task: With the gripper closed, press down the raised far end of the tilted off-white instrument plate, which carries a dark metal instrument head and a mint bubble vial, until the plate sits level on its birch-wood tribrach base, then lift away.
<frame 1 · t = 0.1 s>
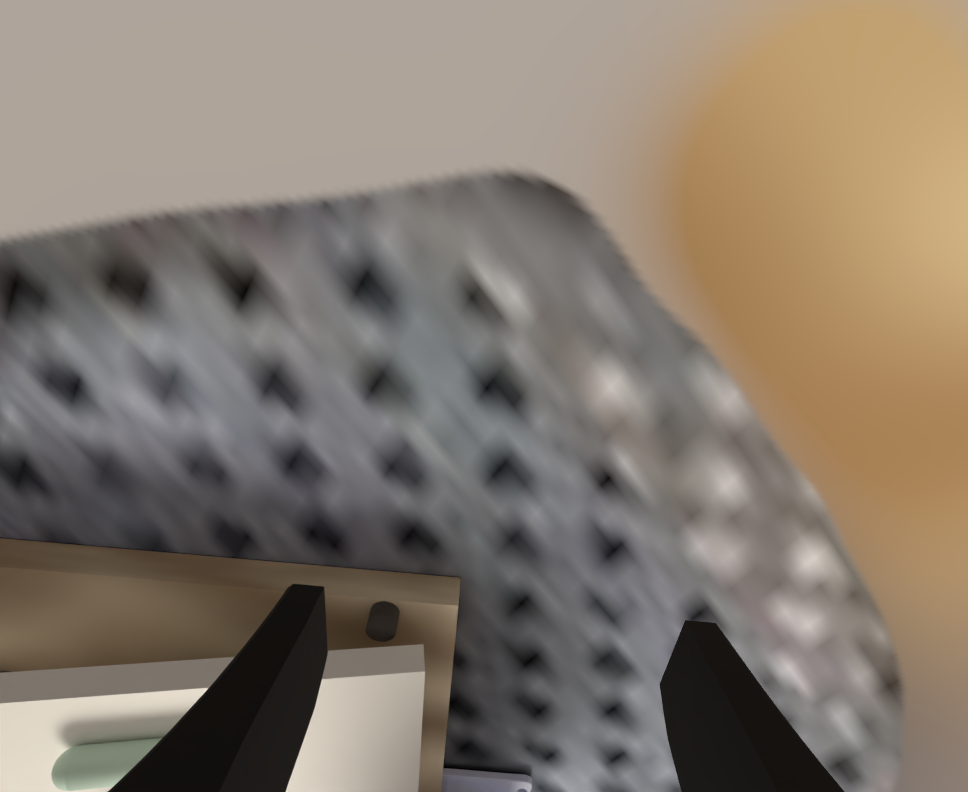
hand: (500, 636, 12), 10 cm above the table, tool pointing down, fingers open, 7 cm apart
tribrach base: (227, 666, 29), on the table
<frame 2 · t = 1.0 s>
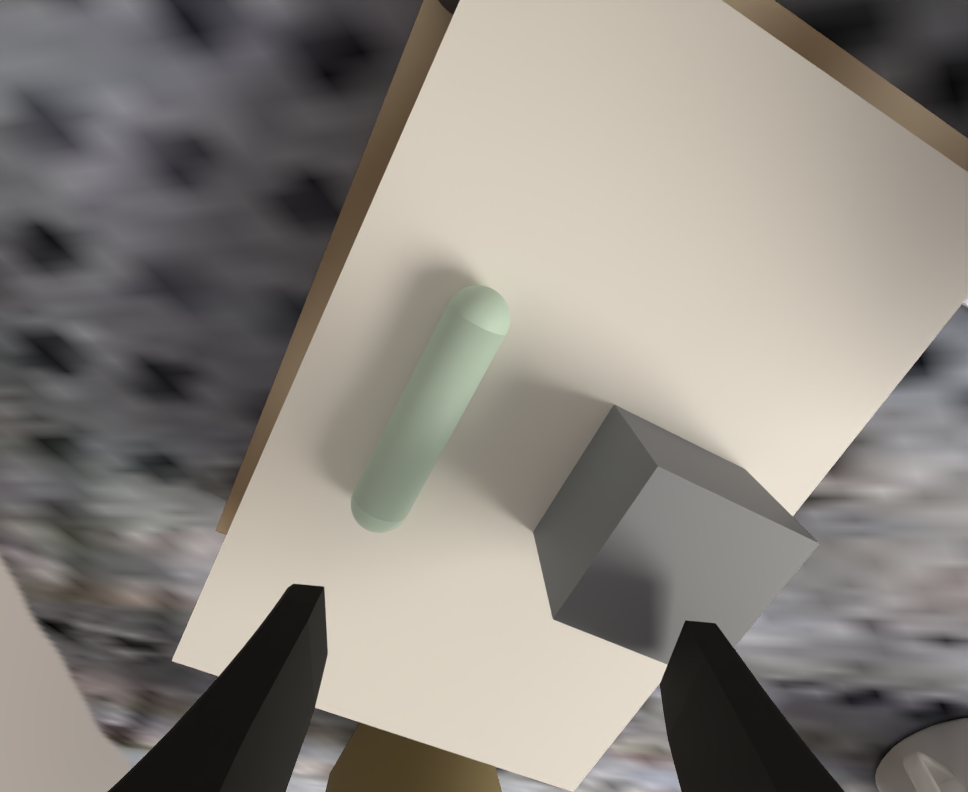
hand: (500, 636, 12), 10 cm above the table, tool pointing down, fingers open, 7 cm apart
squeeze bottle: (425, 714, 30), on the table
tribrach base: (540, 365, 19), on the table
mug: (942, 746, 30), on the table
level plate: (561, 482, 14), point 7 cm above the table, hinge at 10.0°
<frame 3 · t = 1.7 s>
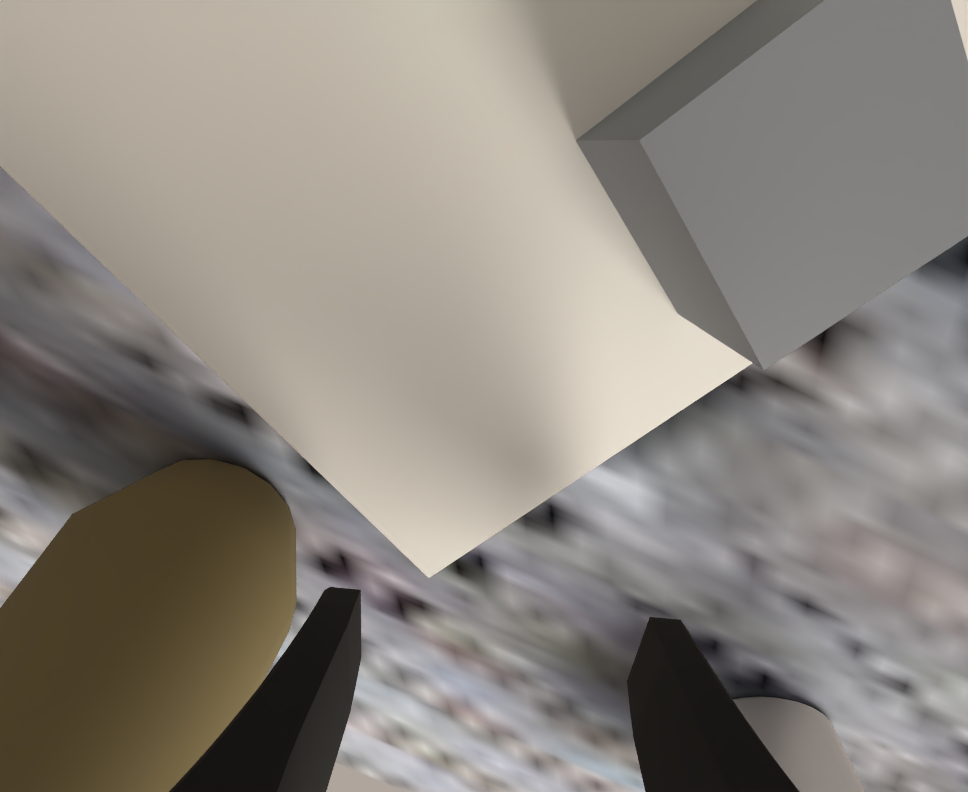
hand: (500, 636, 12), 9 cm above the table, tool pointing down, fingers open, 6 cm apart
squeeze bottle: (224, 512, 23), on the table
mug: (738, 725, 29), on the table
level plate: (683, 28, 9), point 7 cm above the table, hinge at 10.0°
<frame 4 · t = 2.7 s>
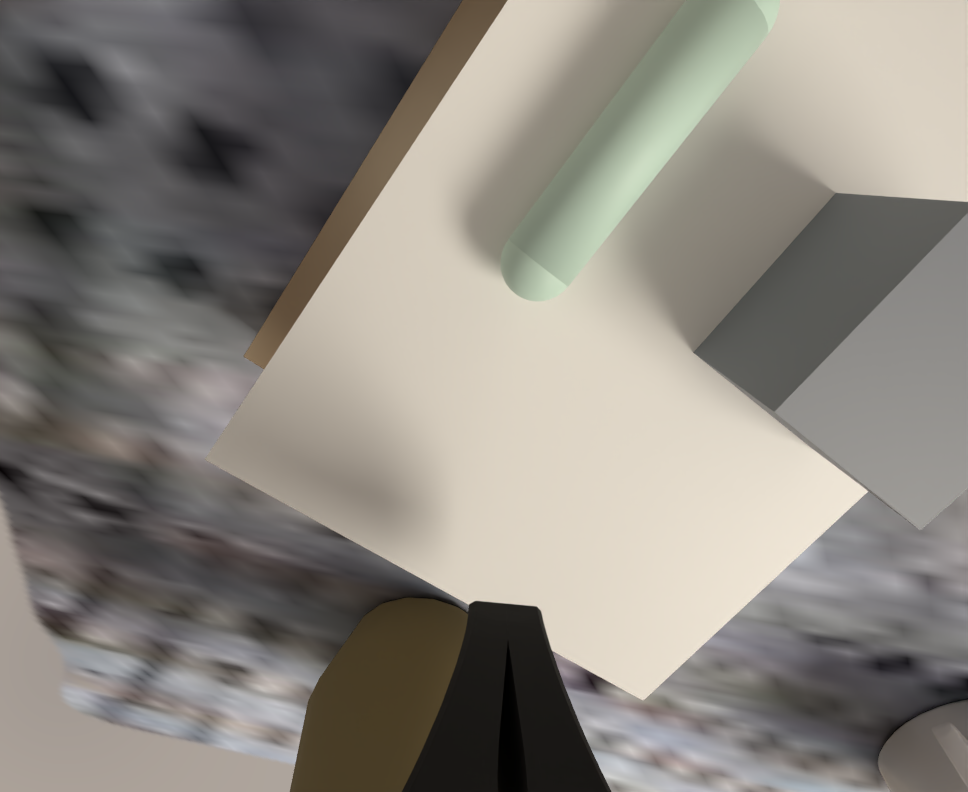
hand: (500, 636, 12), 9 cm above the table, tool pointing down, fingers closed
squeeze bottle: (422, 635, 26), on the table
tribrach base: (671, 206, 17), on the table
mug: (952, 728, 28), on the table
level plate: (771, 269, 11), point 7 cm above the table, hinge at 10.0°
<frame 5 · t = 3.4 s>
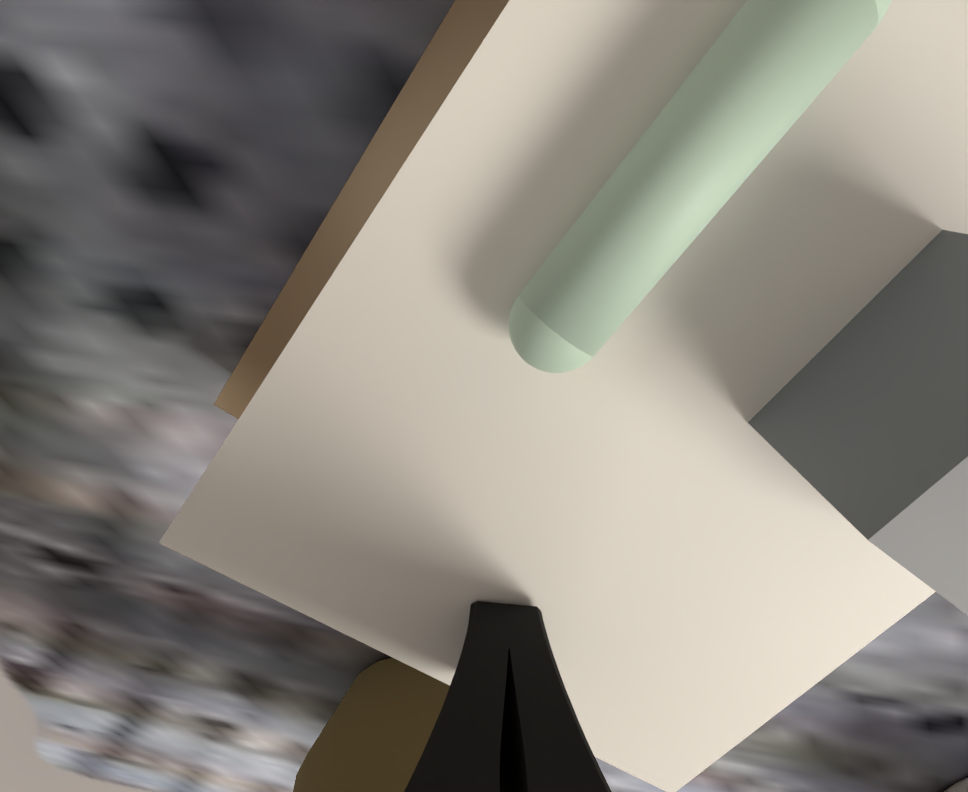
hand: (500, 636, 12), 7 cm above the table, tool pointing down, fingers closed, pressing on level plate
squeeze bottle: (423, 691, 24), on the table
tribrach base: (709, 230, 14), on the table
level plate: (858, 333, 8), point 7 cm above the table, hinge at 7.4°, touching gripper
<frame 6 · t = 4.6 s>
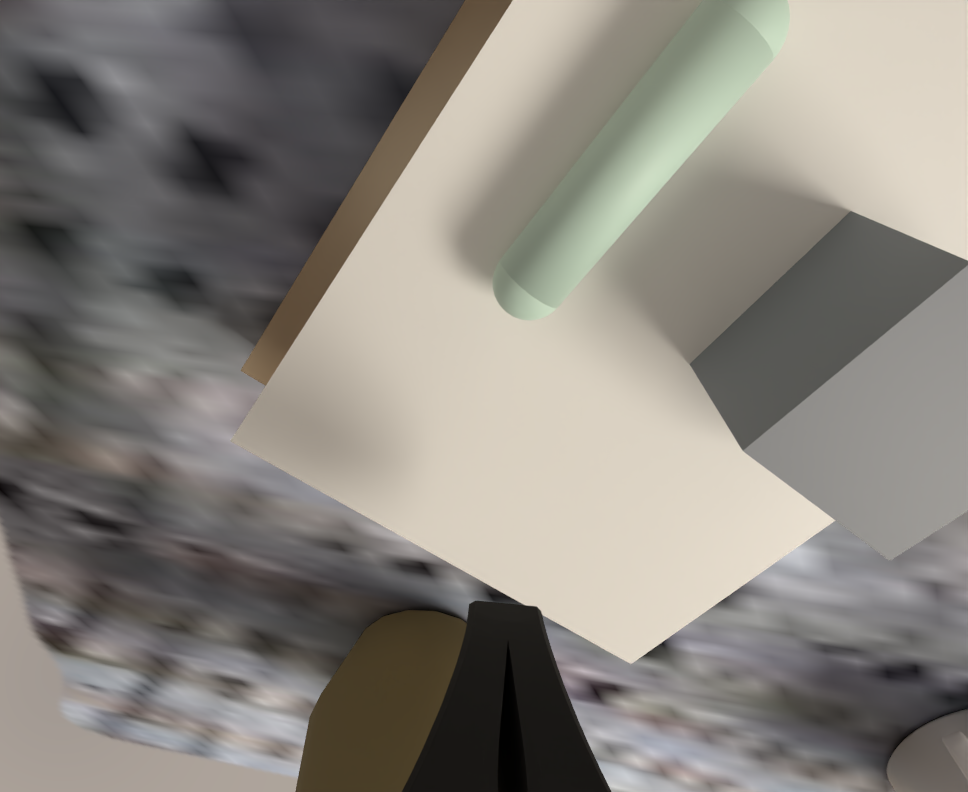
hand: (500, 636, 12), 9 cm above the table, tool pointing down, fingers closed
squeeze bottle: (424, 647, 26), on the table
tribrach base: (674, 215, 16), on the table
mug: (961, 735, 28), on the table
level plate: (767, 295, 11), point 7 cm above the table, hinge at -0.4°
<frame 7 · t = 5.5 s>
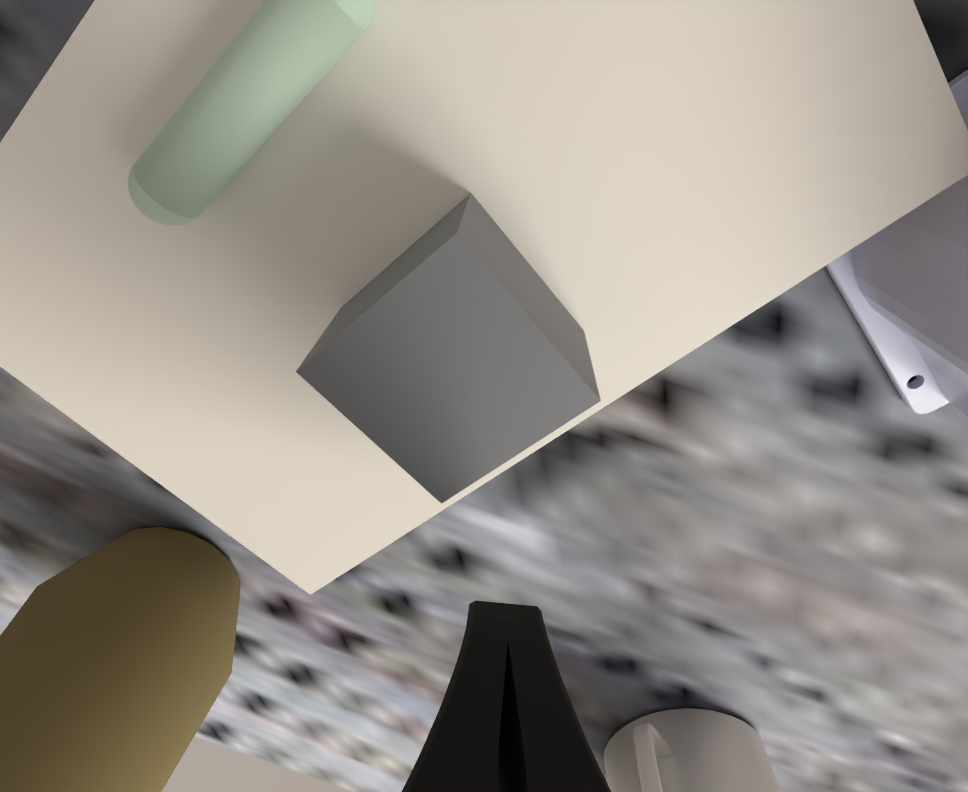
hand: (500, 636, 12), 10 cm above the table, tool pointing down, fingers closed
squeeze bottle: (180, 568, 26), on the table
mug: (671, 734, 31), on the table
level plate: (376, 248, 12), point 7 cm above the table, hinge at -0.4°
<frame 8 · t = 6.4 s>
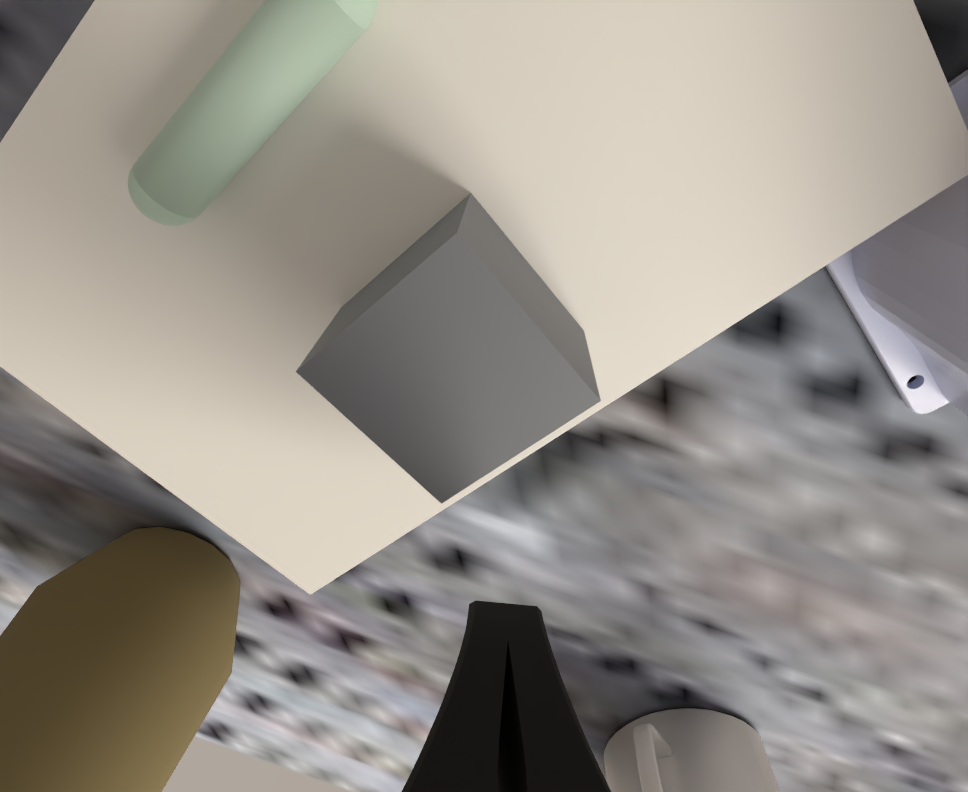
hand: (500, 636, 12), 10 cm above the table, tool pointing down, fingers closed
squeeze bottle: (180, 568, 26), on the table
mug: (671, 734, 31), on the table
level plate: (376, 248, 12), point 7 cm above the table, hinge at -0.4°
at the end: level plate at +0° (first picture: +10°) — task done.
